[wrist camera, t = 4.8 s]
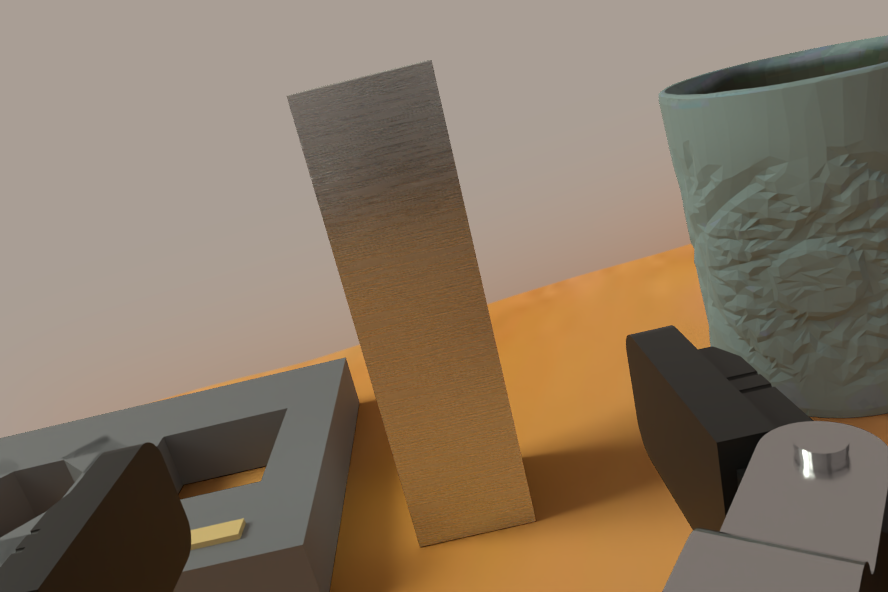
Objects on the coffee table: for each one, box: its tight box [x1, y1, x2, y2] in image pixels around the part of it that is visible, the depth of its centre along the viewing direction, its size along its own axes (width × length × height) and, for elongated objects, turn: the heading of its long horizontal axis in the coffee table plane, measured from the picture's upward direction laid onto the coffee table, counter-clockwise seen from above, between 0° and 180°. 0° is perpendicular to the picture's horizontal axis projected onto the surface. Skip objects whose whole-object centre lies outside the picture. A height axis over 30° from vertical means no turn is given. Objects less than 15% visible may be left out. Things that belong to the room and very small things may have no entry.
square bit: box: [287, 60, 536, 547], centre depth 23 cm, size 4×4×15 cm
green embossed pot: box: [659, 36, 888, 418], centre depth 27 cm, size 10×10×12 cm
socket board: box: [0, 358, 359, 592], centre depth 28 cm, size 18×14×3 cm
